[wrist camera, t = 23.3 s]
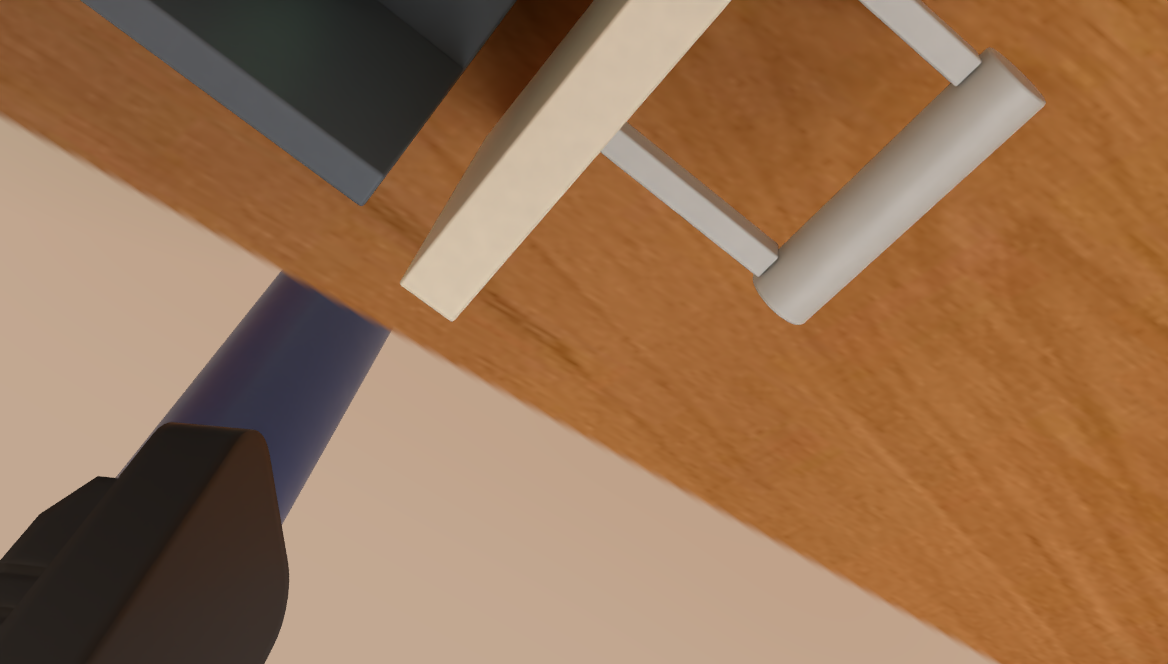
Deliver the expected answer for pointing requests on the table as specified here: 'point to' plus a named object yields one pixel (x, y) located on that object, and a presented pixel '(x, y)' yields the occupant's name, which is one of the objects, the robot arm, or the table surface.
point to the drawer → (561, 122)
